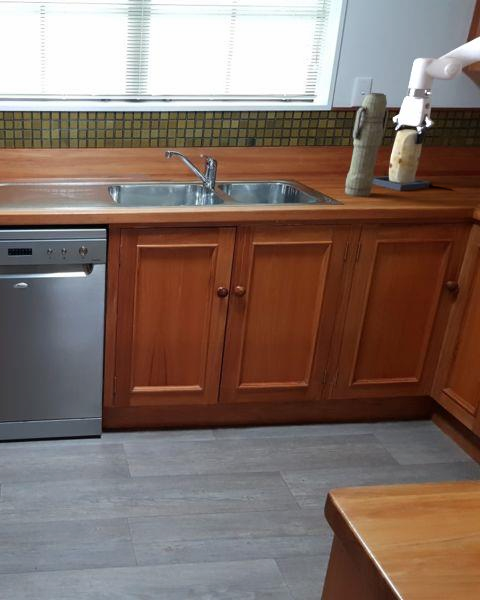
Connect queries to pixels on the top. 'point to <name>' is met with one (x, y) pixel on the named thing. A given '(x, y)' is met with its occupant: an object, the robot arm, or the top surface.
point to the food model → (404, 157)
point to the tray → (387, 183)
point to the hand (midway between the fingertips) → (407, 142)
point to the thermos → (366, 144)
